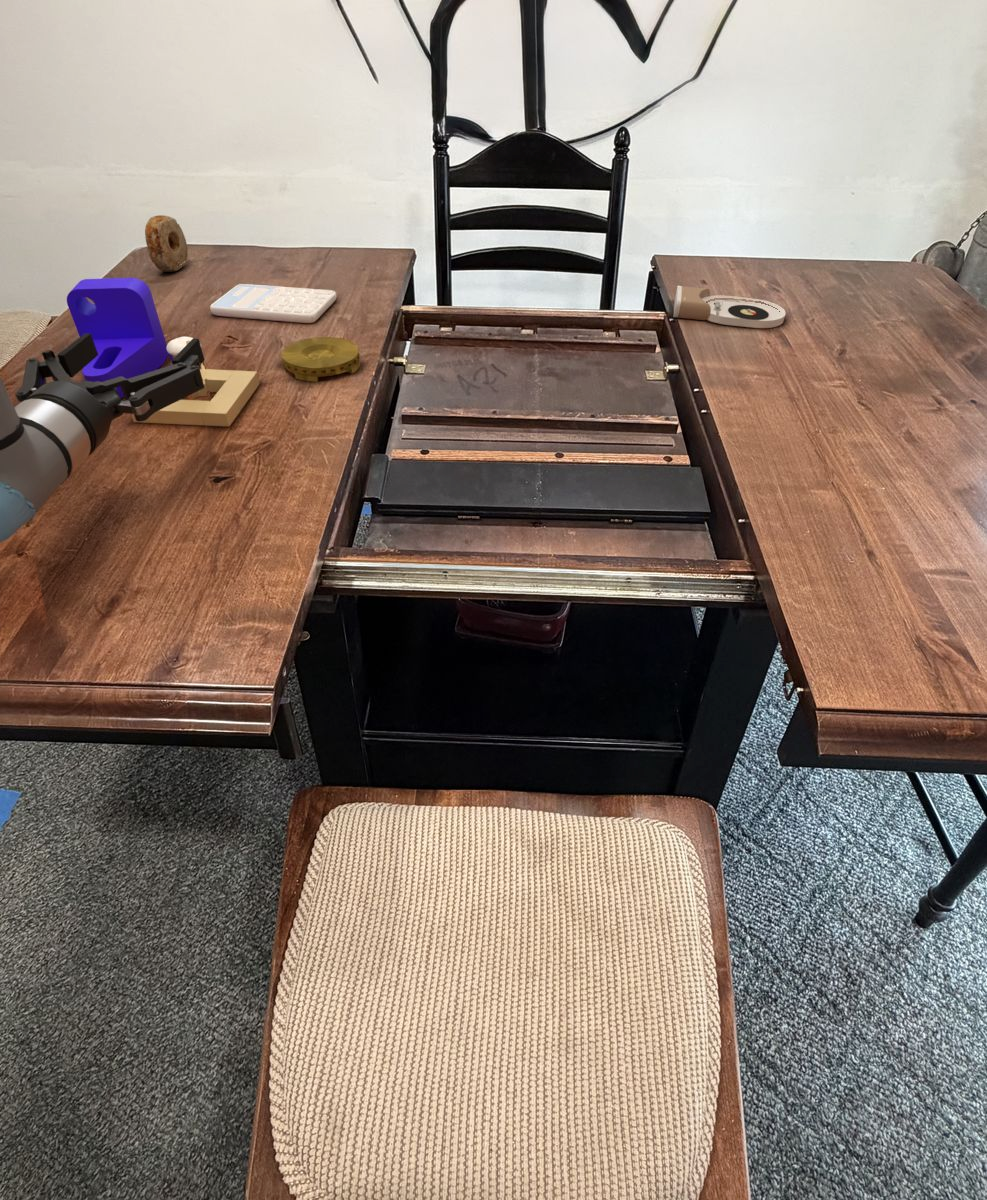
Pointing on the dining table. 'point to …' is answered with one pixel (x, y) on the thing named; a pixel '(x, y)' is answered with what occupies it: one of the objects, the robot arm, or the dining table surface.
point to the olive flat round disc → (321, 357)
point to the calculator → (274, 303)
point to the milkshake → (204, 393)
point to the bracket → (118, 327)
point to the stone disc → (166, 243)
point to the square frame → (212, 401)
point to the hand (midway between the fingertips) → (145, 346)
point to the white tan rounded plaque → (726, 309)
